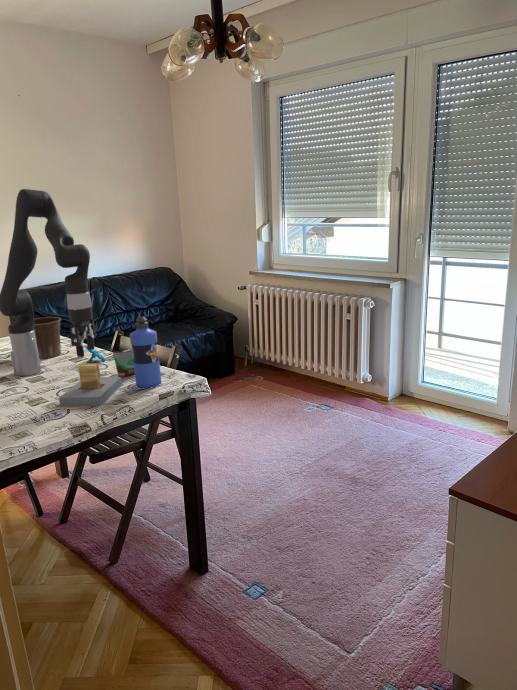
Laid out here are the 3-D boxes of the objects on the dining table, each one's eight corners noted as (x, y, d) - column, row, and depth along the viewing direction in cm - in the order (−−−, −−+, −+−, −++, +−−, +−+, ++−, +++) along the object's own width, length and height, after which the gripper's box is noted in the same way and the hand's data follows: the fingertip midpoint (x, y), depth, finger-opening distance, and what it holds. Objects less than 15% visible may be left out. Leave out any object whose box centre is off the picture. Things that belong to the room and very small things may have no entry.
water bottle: (130, 387, 187) (122, 319, 180) (145, 379, 195) (137, 313, 189) (152, 389, 184) (144, 320, 177) (166, 380, 192) (159, 314, 185)
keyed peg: (99, 396, 180) (95, 365, 177) (82, 396, 181) (78, 366, 178) (102, 393, 183) (98, 363, 180) (86, 393, 183) (81, 363, 181)
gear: (106, 360, 217) (86, 345, 214) (97, 371, 216) (77, 357, 214) (107, 357, 227) (88, 342, 225) (98, 367, 227) (79, 353, 224)
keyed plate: (60, 406, 173) (58, 397, 172) (85, 385, 192) (84, 377, 191) (101, 405, 171) (99, 396, 171) (122, 384, 191) (121, 376, 190)
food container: (127, 380, 195) (123, 354, 193) (115, 378, 199) (112, 352, 196) (150, 370, 205) (147, 346, 203) (138, 368, 209) (135, 344, 206)
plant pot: (52, 348, 247) (47, 315, 243) (73, 352, 238) (68, 318, 234) (20, 358, 234) (14, 322, 230) (41, 362, 225) (35, 326, 221)
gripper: (78, 302, 181) (84, 347, 185) (58, 310, 167) (66, 359, 171) (98, 301, 180) (104, 347, 184) (81, 310, 166) (88, 359, 170)
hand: (86, 353), depth 178 cm, fingers open, 8 cm apart
